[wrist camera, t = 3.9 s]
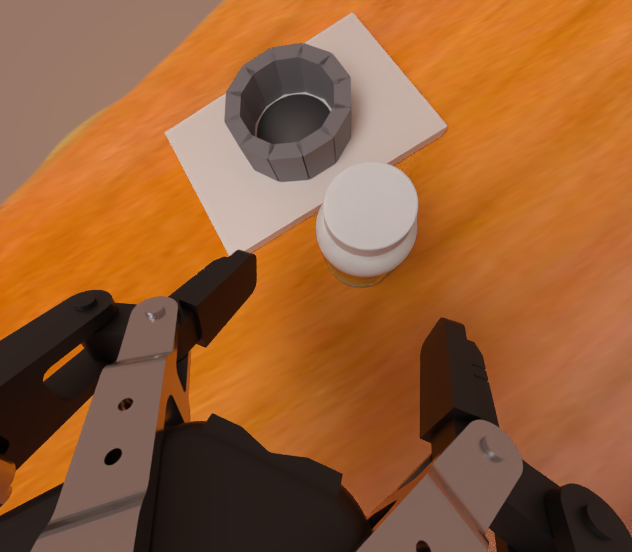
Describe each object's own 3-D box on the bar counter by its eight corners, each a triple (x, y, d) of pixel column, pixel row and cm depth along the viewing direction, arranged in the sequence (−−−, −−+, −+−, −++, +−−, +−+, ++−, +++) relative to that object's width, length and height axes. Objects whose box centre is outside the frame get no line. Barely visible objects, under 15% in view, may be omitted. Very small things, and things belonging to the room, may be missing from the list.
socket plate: (352, 24, 23) (353, -35, 19) (442, 135, 20) (465, 92, 17) (172, 139, 24) (137, 105, 20) (236, 261, 21) (210, 249, 17)
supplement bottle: (336, 216, 21) (326, 134, 11) (402, 231, 20) (450, 155, 10) (318, 278, 20) (291, 247, 11) (385, 297, 19) (420, 280, 10)
